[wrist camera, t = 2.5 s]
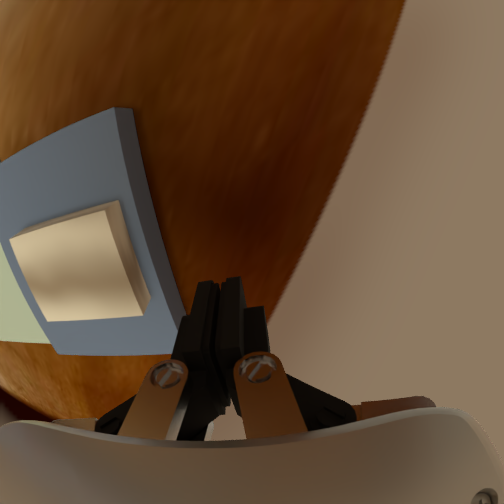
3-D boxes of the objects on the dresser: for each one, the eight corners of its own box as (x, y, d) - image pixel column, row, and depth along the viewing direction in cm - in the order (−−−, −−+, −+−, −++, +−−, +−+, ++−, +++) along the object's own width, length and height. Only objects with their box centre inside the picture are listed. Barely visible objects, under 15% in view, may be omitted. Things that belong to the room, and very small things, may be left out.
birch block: (24, 228, 15) (9, 239, 14) (118, 199, 15) (104, 210, 13) (58, 306, 18) (47, 321, 17) (150, 297, 18) (143, 315, 16)
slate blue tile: (2, 167, 16) (-19, 176, 13) (132, 108, 15) (113, 107, 13) (69, 334, 24) (57, 354, 21) (191, 328, 23) (186, 352, 21)
